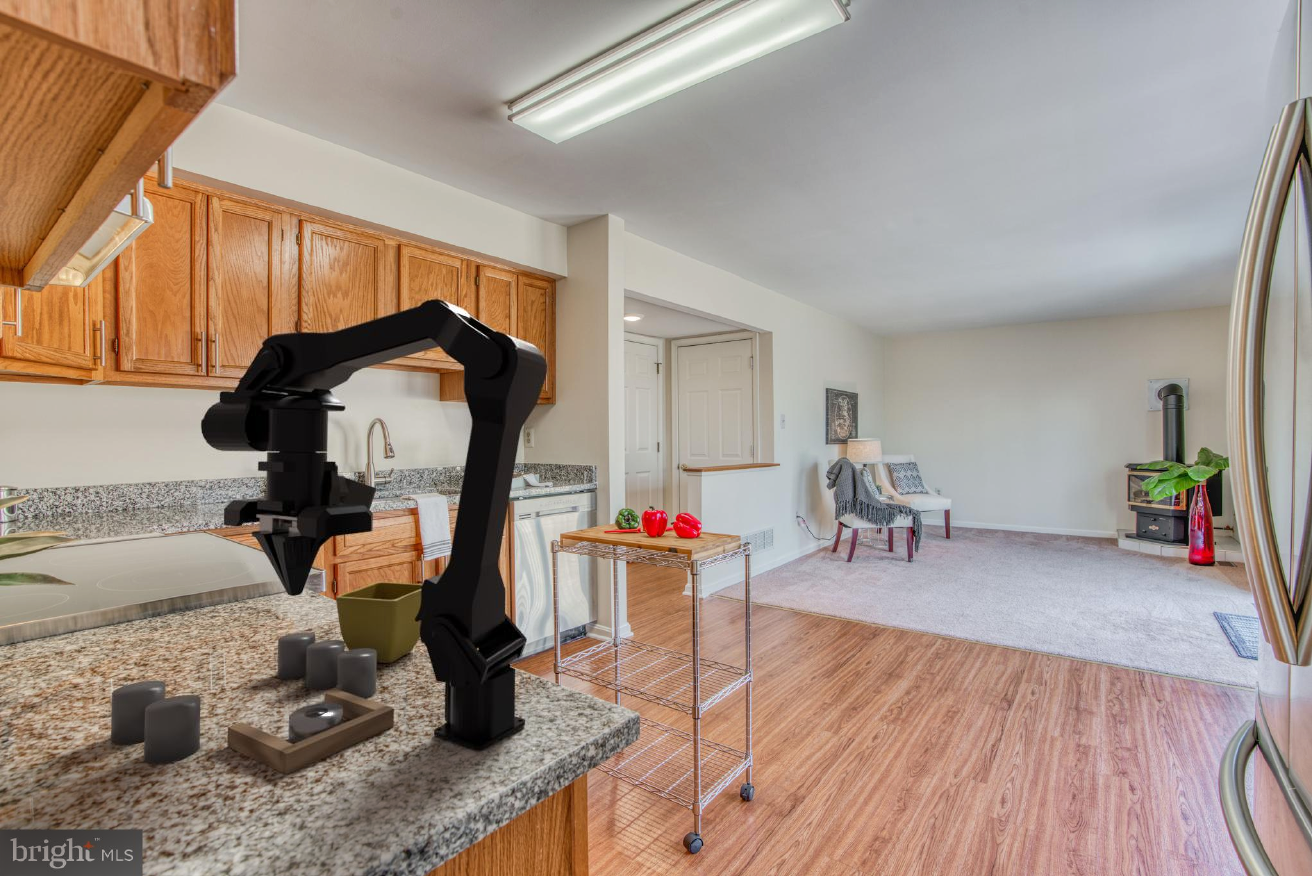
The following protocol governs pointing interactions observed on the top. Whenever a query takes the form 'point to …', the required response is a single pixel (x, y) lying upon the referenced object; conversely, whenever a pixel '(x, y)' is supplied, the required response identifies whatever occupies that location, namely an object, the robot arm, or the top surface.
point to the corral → (292, 757)
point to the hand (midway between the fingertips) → (294, 594)
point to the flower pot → (381, 618)
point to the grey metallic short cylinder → (313, 720)
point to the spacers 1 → (156, 721)
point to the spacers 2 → (327, 664)
